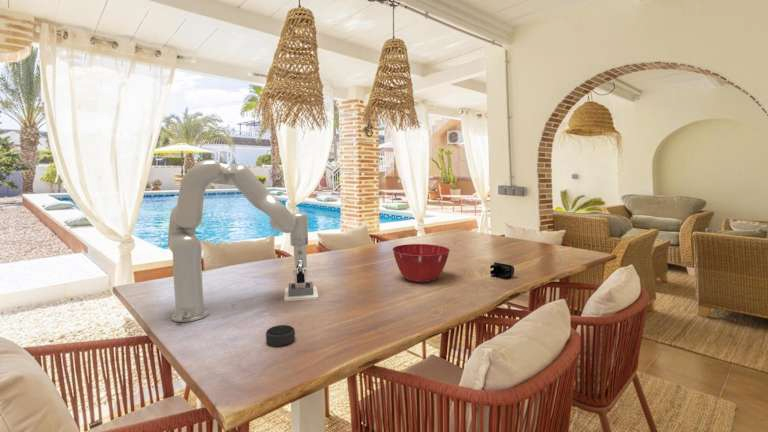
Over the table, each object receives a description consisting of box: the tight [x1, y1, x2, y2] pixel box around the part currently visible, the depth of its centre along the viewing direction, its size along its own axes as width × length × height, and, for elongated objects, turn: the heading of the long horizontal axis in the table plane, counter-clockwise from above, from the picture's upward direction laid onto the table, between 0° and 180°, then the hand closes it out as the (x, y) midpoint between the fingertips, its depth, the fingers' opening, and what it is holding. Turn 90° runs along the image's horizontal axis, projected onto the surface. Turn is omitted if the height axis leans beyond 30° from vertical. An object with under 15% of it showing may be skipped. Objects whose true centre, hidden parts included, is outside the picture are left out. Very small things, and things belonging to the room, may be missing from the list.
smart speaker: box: [265, 324, 296, 347], centre depth 129 cm, size 9×9×4 cm
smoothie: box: [292, 268, 308, 289], centre depth 177 cm, size 6×6×14 cm
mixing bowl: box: [392, 243, 451, 284], centre depth 201 cm, size 28×28×15 cm
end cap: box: [489, 262, 515, 281], centre depth 204 cm, size 10×7×7 cm
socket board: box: [283, 281, 319, 302], centre depth 178 cm, size 16×14×4 cm
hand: (300, 279), depth 177 cm, fingers open, 9 cm apart
